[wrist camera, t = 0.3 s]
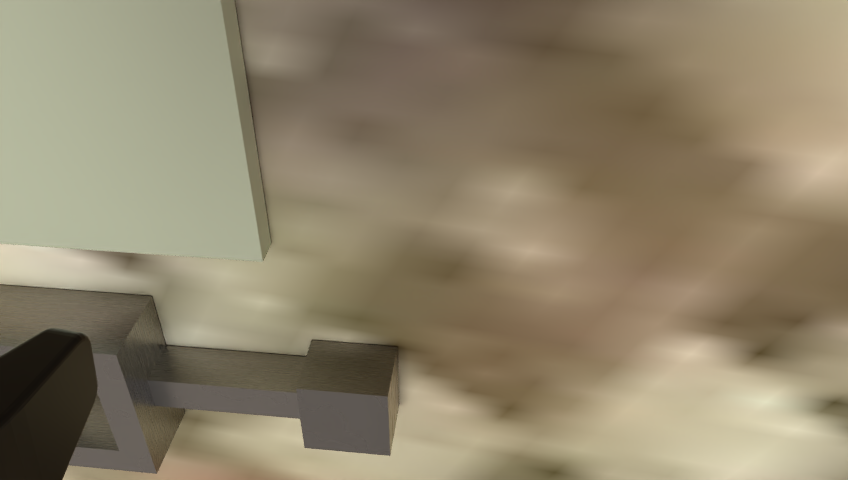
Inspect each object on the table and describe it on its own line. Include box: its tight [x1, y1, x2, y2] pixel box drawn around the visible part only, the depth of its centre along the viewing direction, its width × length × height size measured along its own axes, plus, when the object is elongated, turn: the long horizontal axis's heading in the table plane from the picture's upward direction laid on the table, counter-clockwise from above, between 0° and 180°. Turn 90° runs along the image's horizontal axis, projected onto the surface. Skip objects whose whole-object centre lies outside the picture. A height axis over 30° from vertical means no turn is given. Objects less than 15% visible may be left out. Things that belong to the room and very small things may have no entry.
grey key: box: [0, 285, 399, 474], centre depth 28 cm, size 6×15×3 cm, turn 90°
